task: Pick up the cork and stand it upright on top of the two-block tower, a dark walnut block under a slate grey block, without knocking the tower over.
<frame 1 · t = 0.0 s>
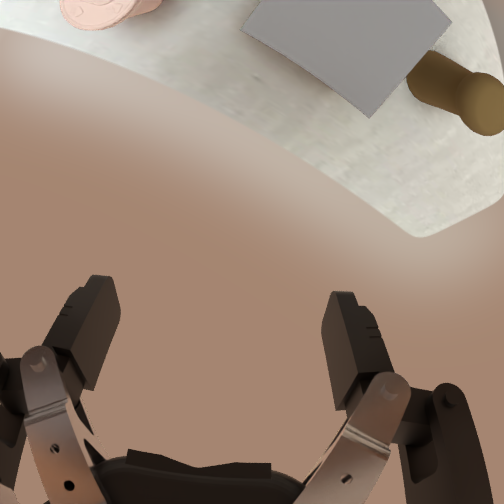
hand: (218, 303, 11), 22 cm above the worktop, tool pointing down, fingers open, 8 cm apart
slate top block: (336, 17, 17), point 5 cm above the worktop, touching walnut base block
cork: (430, 77, 24), on the worktop
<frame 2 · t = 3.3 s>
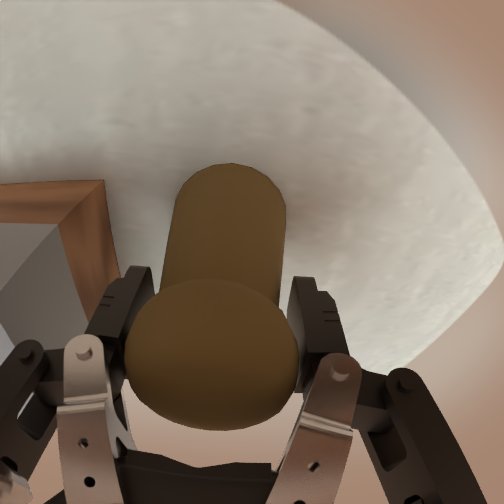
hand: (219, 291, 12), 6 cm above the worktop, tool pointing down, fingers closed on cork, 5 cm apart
walnut base block: (52, 251, 18), on the worktop
slate top block: (15, 300, 14), point 5 cm above the worktop, touching walnut base block
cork: (229, 215, 17), on the worktop, touching gripper
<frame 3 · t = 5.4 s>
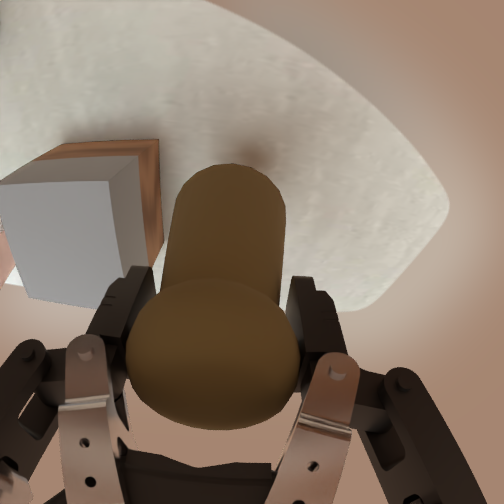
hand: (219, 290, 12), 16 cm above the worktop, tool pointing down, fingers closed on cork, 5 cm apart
smoothie: (16, 238, 29), on the worktop
walnut base block: (110, 192, 26), on the worktop
slate top block: (87, 217, 22), point 5 cm above the worktop, touching walnut base block
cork: (229, 215, 17), point 10 cm above the worktop, touching gripper
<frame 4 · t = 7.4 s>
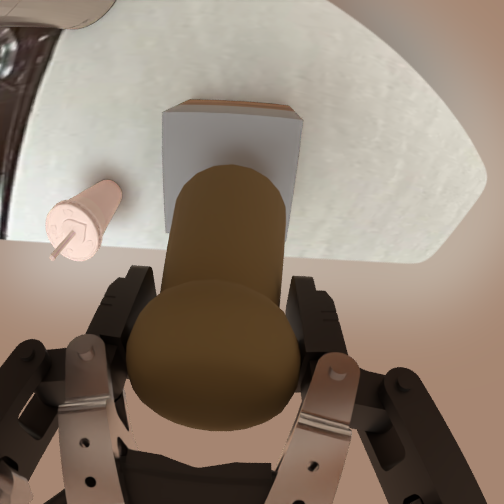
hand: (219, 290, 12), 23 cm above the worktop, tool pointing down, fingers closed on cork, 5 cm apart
smoothie: (109, 193, 34), on the worktop
walnut base block: (235, 147, 31), on the worktop
slate top block: (232, 160, 27), point 5 cm above the worktop, touching walnut base block
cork: (229, 216, 17), point 17 cm above the worktop, touching gripper
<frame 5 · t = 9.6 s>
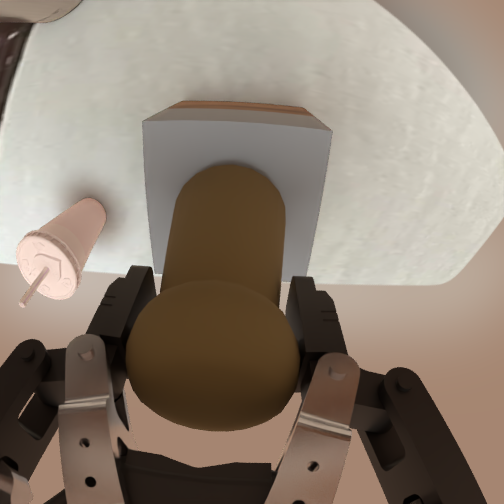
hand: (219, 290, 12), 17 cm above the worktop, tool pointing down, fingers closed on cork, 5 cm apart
smoothie: (91, 213, 29), on the worktop
walnut base block: (238, 159, 26), on the worktop
slate top block: (236, 178, 22), point 5 cm above the worktop, touching walnut base block
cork: (229, 216, 17), point 11 cm above the worktop, touching gripper
when the fingers open (16 cm above the worktop, at t = 11.3 s): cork stays where it is, resting on slate top block.
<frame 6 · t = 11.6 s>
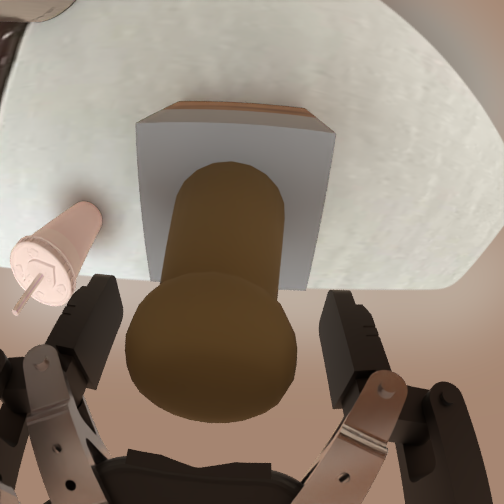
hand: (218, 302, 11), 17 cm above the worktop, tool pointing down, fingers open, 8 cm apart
smoothie: (87, 216, 28), on the worktop
walnut base block: (237, 161, 25), on the worktop
slate top block: (234, 182, 21), point 5 cm above the worktop, touching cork, walnut base block
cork: (229, 213, 17), point 10 cm above the worktop, touching slate top block
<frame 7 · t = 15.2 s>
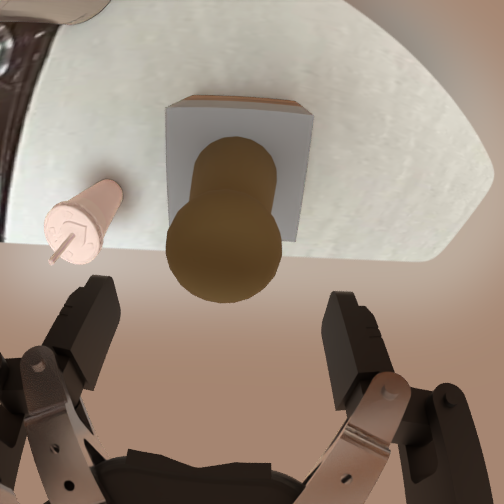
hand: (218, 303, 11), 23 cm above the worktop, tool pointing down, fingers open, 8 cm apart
smoothie: (109, 193, 33), on the worktop
walnut base block: (240, 144, 30), on the worktop
slate top block: (238, 158, 26), point 5 cm above the worktop, touching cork, walnut base block
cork: (234, 176, 22), point 10 cm above the worktop, touching slate top block
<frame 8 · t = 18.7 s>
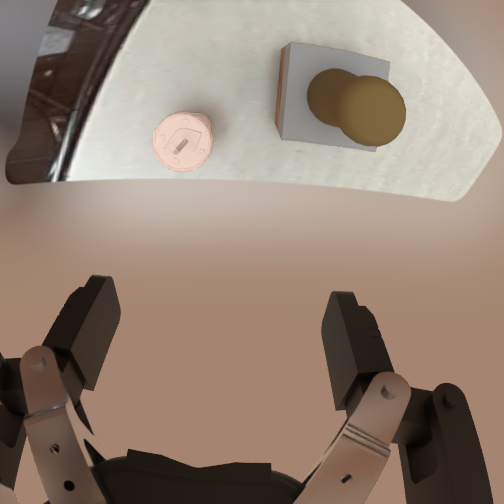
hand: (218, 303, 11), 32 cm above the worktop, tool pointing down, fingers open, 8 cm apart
smoothie: (197, 125, 38), on the worktop
slate top block: (326, 93, 31), point 5 cm above the worktop, touching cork, walnut base block
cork: (336, 97, 27), point 10 cm above the worktop, touching slate top block
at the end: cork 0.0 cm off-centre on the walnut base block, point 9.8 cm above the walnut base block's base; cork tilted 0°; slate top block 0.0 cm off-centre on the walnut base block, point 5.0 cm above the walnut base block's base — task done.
